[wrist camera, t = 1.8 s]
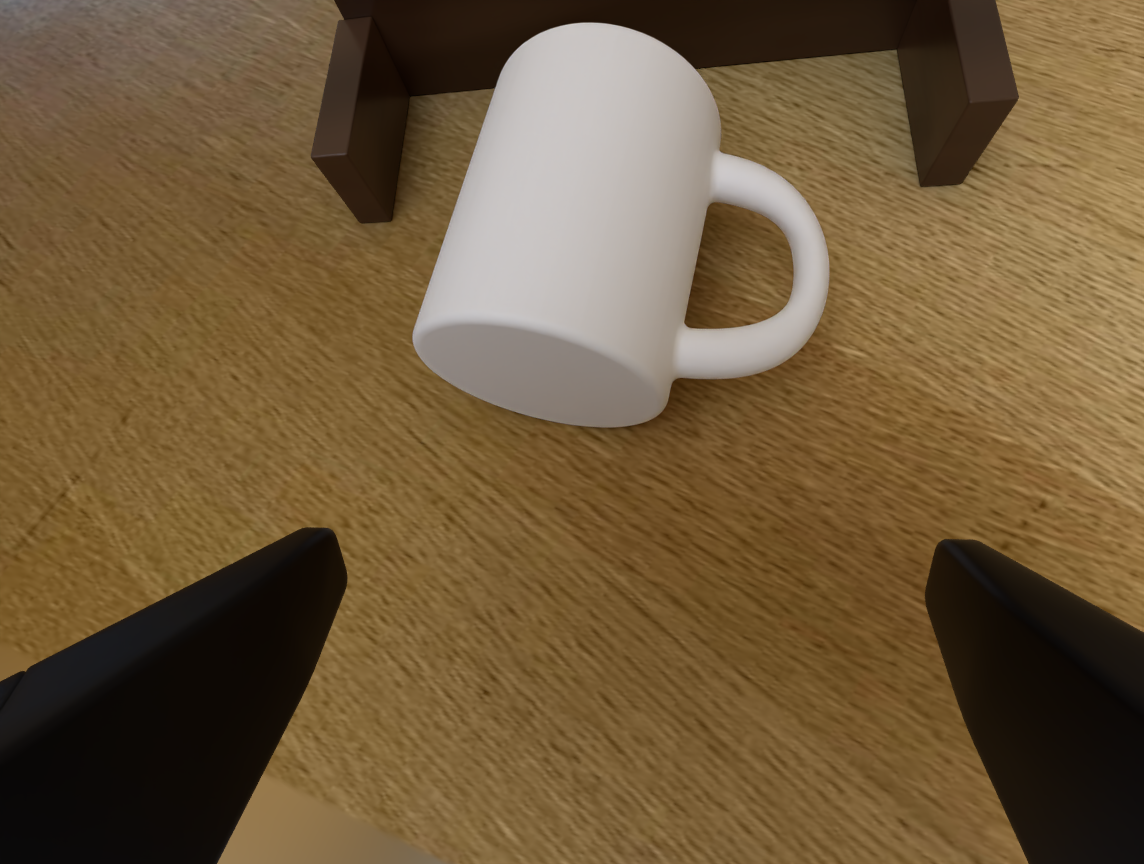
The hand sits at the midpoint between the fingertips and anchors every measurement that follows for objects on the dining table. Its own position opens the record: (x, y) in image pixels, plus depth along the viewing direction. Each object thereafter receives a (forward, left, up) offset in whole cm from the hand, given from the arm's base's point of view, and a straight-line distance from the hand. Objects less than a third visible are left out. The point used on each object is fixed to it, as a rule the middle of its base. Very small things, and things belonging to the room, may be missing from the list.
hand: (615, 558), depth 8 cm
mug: (+10, +5, -13) cm, 17 cm away
